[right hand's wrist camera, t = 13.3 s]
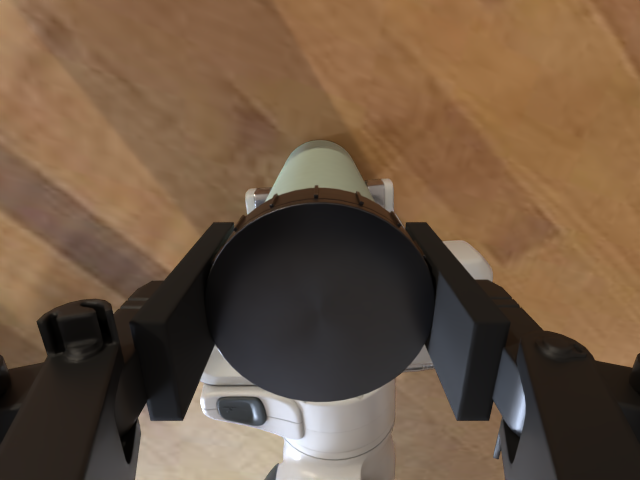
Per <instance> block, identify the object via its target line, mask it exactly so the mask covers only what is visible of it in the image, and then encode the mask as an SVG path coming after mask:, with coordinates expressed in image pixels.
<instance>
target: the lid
mask: <svg viewBox="0 0 640 480" xmlns="http://www.w3.org/2000/svg"><path fill="white" fill-rule="evenodd" d="M233 230H234V231H233V232H232V234H231V235H230V237H229V238H228V240H227V242H226V243H225V245H224V246H222V247H221V248H220V250H219V251H218V253H217V254H216V256H215V257H214V259H213V260H212V263H211V264H213V265H212V267H211V269H210V272H209V276H208V279H207V282H206V289H205V296H204V299H205V310H206V318H207V325H208V328H209V331H210V334H211V337H212V339H213V341H214V343H215V345H216V347H217V348H218V350H219V351H220V353H221V354H222V356H223V357H224V359H225V360H226V361H227V362H228V363H229V364H230V365H231V367H232V368H233V369H235V370H236V371H237V372H238V373H239V374H240V375H241V376H243V377H244V378H245V379H247V380H248V381H250V382H251V383H253V384H254V385H256V386H258V387H260V388H262V389H263V390H266V391H268V392H271V393H273V394H275V395H278V396H282V397H285V398H289V399H294V400H299V401H307V402H333V401H341V400H346V399H351V398H355V397H358V396H361V395H364V394H367V393H370V392H372V391H374V390H376V389H378V388H380V387H382V386H384V385H385V384H387V383H389V382H390V381H392V380H393V379H394V378H396V377H397V376H398V375H400V374H401V373H402V372H403V371H404V370H405V369H406V368H407V367H408V366H409V365H410V364H411V363H412V362H413V361H414V359H415V358H416V357H417V355H418V354H419V353H420V351H421V349H422V348H423V346H424V344H425V343H426V340H427V338H428V336H429V333H430V331H431V327H432V323H433V316H434V308H435V290H434V285H433V280H432V276H431V274H430V271H429V268H428V266H427V263H426V262H425V260H424V259H425V258H426V256H425V255H424V253H423V252H422V250H421V249H420V247H419V246H418V244H417V243H416V241H413V240H412V239H411V237H410V236H409V234H408V233H407V231H406V230H405V229H404V227H403V226H402V224H401V223H400V221H399V220H398V218H397V217H396V215H395V213H394V212H393V211H391V212H389V211H387V210H386V209H384V208H383V207H382V206H380V205H379V204H377V203H375V202H374V201H372V200H370V199H368V198H366V197H364V196H361V194H360V192H358V191H356V193H353V192H349V191H345V190H341V189H333V188H318V185H315V188H306V189H300V190H294V191H291V192H287V193H284V194H281V195H279V196H278V194H274V196H273V198H272V199H270V200H268V201H266V202H264V203H263V204H261V205H259V206H258V207H256V208H255V209H254V210H253V211H251V212H250V213H249V214H248V215H247V216H246V217H245V216H244V215H243V216H242V217H241V218H240V220H239V221H238V223H237V224H236V226H235V227H234V229H233Z"/></svg>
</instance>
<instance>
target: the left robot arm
mask: <svg viewBox="0 0 640 480" xmlns="http://www.w3.org/2000/svg"><path fill="white" fill-rule="evenodd" d="M365 184H366V186H367V188H368V190H369V191H370V193H371V195H372V197H373V199H374V201H375V203H377V204H379V205H380V206H382V207H383V208H384V209H386V210H387V211H389V212H391V211H393V212H394V188H393V183H392V181H391V180H390V179H389V178H388V179H375V180H365ZM271 189H272V187H271V188H253V189H249V190H248V191H247V192H246V208H247V214H249V213H250V212H251V211H253V210H254V209H255V208H256V207H258V206H259V205H261V204H263V203H264V202H265V201H266V199H267V197H268V195H269V193H270V191H271ZM394 213H395V212H394ZM395 215H396V213H395ZM396 217H397V215H396ZM397 218H398V217H397ZM398 220H399V218H398ZM399 221H400V220H399ZM400 223H401V221H400ZM401 224H402V223H401ZM402 226H403V225H402ZM403 227H404V226H403ZM404 229H405V228H404ZM442 242H443V243H444V244H445V245H446V246H447V248H448V249H449V250H450V251H451V252H452V253H453V255H454V256H455V257H456V258H457V259H458V261H459V262H460V263H461V264H462V265H463V266H464V268H465V269H466V270H467V271H468V272H469V273H470V275H471V276H472V277H473V278H474V279H488V280H490V281H491V282H492V281H493V271H492V268H491V266H490V265H489V263H488V262H487V261H486V259H485V258H484V257H483V256H482V255H481V254H480V253H479V252H478V251H477V250H476V249H475V248H474V247H472V246H471V245H470V244H469V243H468V242H466V241H463V240H453V241H442ZM429 369H435V368H434V365H433V363H432V361H431V358H430V356H429V354H428V351H427V349H426V346H425V344H424V346H423V348H422V349H421V351H420V353H419V354H418V355H417V357H416V358H415V359H414V361H413V362H412V363H411V364H410V365H409V366H408V367H407V368H406V369H405V370H404V371H403V372H418V371H424V370H429ZM200 381H201V382H204V385H203V390H202V394H201V399H200V402H201V407H202V410H203V412H204V414H205V415H206V416H208V417H209V418H212V419H215V420H220V421H225V422H231V423H236V424H241V425H245V426H250V427H254V428H258V429H261V430H264V431H268V432H271V433H273V434H276V435H279V436H281V437H283V438H284V441H285V443H284V451H283V462H282V463H281V464H279V463H278V464H277V465H275V466H274V468H273V469H272V470H271V471H270V472H269V474H268V475H267V476H266V478H265V480H395V447H394V442H393V439H392V436H391V433H392V430H393V426H394V421H395V378H394V379H393V380H392V381H390V382H389V383H387V384H385V385H384V386H382V387H380V388H378V389H376V390H374V391H372V392H370V393H367V394H364V395H361V396H358V397H355V398H351V399H346V400H341V401H333V402H307V401H299V400H294V399H289V398H285V397H282V396H278V395H275V394H273V393H271V392H268V391H266V390H263V389H262V388H260V387H258V386H256V385H254V384H253V383H251V382H250V381H248V380H247V379H245V378H244V377H243V376H241V375H240V374H239V373H238V372H237V371H236V370H235V369H233V368H232V367H231V365H230V364H229V363H228V362H227V361H226V360H225V359H224V357H223V356H222V354H221V353H220V351H219V350H218V348H217V347H216V345H215V346H214V348H213V351H212V353H211V355H210V358H209V360H208V362H207V365H206V367H205V369H204V372H203V374H202V377H201V379H200Z"/></svg>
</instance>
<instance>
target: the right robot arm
mask: <svg viewBox="0 0 640 480" xmlns="http://www.w3.org/2000/svg"><path fill="white" fill-rule="evenodd" d="M233 229H234V222H214V223H213V224H212V225H211V226H210V227H209V228H208V230H207V231H206V232H205V233H204V234H203V235H202V237H201V238H200V239H199V240H198V241H197V243H196V244H195V245H194V246H193V247H192V248H191V250H190V251H189V252H188V253H187V254H186V255H185V257H184V258H183V259H182V260H181V261H180V263H179V264H178V265H177V266H176V267H175V268H174V270H173V271H172V272H171V273H170V274H169V276H168V277H167V278H166V279H165V280H164V281H151V282H149V283H147V284H146V285H144V286H142V287H140V288H138V289H137V290H136V291H135V292H134V293H133V294H132V295H131V296H130V297H129V298H128V301H126V302H125V303H124V304H123V305H122V306H121V308H120V309H118V310H117V311H116V312H115V313H114V314H113V311H112V306H111V304H110V303H108V302H107V301H105V300H100V299H86V300H79V301H75V302H70V303H67V304H64V305H62V306H59V307H56V308H54V309H52V310H51V311H49V312H47V313H45V314H44V315H43V316H42V317H41V318H40V319H39V320H38V321H37V325H38V328H39V331H40V334H41V337H42V340H43V343H44V346H45V349H46V352H47V355H48V356H47V358H46V360H45V362H43V363H39V364H34V365H28V366H23V367H18V368H13V369H7V366H6V364H5V361H4V358H3V356H1V355H0V480H135V475H136V467H137V460H138V452H139V445H140V437H141V430H140V424H139V420H138V416H139V415H140V413H141V411H142V409H143V408H144V406H145V404H146V402H147V406H148V411H149V415H150V420H151V421H183V419H184V417H185V414H186V412H187V410H188V407H189V405H190V403H191V400H192V398H193V395H194V393H195V391H196V388H197V386H198V384H199V381H200V379H201V377H202V374H203V372H204V369H205V367H206V365H207V362H208V360H209V358H210V355H211V353H212V351H213V348H214V346H215V343H214V341H213V339H212V337H211V334H210V331H209V328H208V325H207V318H206V310H205V299H204V296H205V289H206V282H207V279H208V276H209V272H210V269H211V267H212V265H213V264H211V263H212V260H213V259H214V257H215V256H216V254H217V253H218V251H219V250H220V248H221V247H222V246H224V245H225V243H226V242H227V240H228V238H229V237H230V235H231V234H232V232H233V231H234V230H233ZM405 230H406V231H407V233H408V234H409V236H410V237H411V239H412V240H413V241H416V243H417V244H418V246H419V247H420V249H421V250H422V252H423V253H424V255H425V256H426V258H425V259H424V260H425V262H426V263H427V266H428V268H429V271H430V274H431V276H432V280H433V285H434V290H435V308H434V316H433V323H432V327H431V331H430V333H429V336H428V338H427V340H426V343H425V346H426V349H427V351H428V354H429V356H430V358H431V361H432V363H433V365H434V368H435V370H436V372H437V375H438V377H439V379H440V382H441V384H442V387H443V389H444V391H445V394H446V396H447V398H448V401H449V403H450V405H451V408H452V410H453V413H454V415H455V417H456V420H457V421H489V419H490V414H491V410H492V405H493V401H494V403H495V404H496V406H497V408H498V410H499V411H500V413H501V415H502V420H501V424H500V429H499V433H498V437H497V441H496V446H495V450H494V456H493V458H496V459H499V455H500V451H502V459H503V466H504V474H505V480H640V353H639V354H638V355H637V357H636V360H635V363H634V365H633V368H631V367H626V366H620V365H615V364H610V363H605V362H600V361H596V360H595V359H594V358H593V356H592V354H591V353H590V352H589V351H588V350H587V349H586V347H584V346H583V345H581V344H580V343H578V342H577V341H575V340H573V339H571V338H569V337H566V336H564V335H562V334H558V333H554V332H550V331H543V329H542V328H541V327H540V326H539V325H538V324H537V323H536V322H535V321H534V320H533V319H532V318H531V317H530V316H529V315H528V314H527V313H526V312H525V311H524V310H523V309H522V308H520V307H519V304H518V303H517V302H516V301H515V300H514V299H512V297H511V296H510V295H509V294H508V293H507V292H506V291H505V290H504V289H503V288H502V287H500V286H498V285H497V284H495V283H493V282H491V281H490V280H488V279H474V278H473V277H472V276H471V275H470V273H469V272H468V271H467V270H466V269H465V268H464V266H463V265H462V264H461V263H460V262H459V261H458V259H457V258H456V257H455V256H454V255H453V253H452V252H451V251H450V250H449V249H448V248H447V246H446V245H445V244H444V243H443V242H442V240H441V239H440V238H439V237H438V236H437V235H436V233H435V232H434V231H433V230H432V229H431V228H430V226H429V225H428V224H427V223H426V222H406V228H405Z"/></svg>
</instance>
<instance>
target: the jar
mask: <svg viewBox="0 0 640 480" xmlns="http://www.w3.org/2000/svg"><path fill="white" fill-rule="evenodd" d="M315 185H318V188H333V189H341V190H345V191H349V192H353V193H356V191H358V192H360V194H361V196H364V197H366V198H368V199H370V200H372V201H374V199H373V197H372V195H371V193H370V191H369V190H368V188H367V186H366V184H365V182H364V180H363V178H362V176H361V174H360V172H359V171H358V169H357V167H356V165H355V163H354V161H353V159H352V158H351V156H350V155H349V153H348V152H347V151H346V150H345V149H344V148H342V147H341V146H339V145H338V144H336V143H333V142H331V141H327V140H314V141H309V142H306V143H304V144H302V145H300V146H299V147H297V148H296V149H295V150H294V151H293V152H292V153H291V154H290V156H289V157H288V159H287V161H286V163H285V165H284V166H283V168H282V170H281V172H280V174H279V176H278V178H277V180H276V182H275V184H274V185H273V187H272V189H271V191H270V193H269V195H268V197H267V199H266V201H268V200H270V199H272V198H273V196H274V194H278V196H279V195H281V194H284V193H287V192H291V191H294V190H300V189H306V188H315ZM266 201H265V202H266ZM374 202H375V201H374Z"/></svg>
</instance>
